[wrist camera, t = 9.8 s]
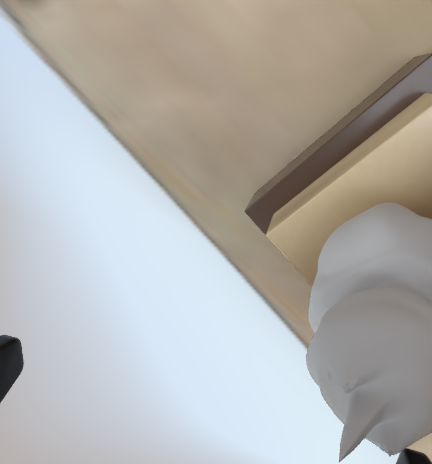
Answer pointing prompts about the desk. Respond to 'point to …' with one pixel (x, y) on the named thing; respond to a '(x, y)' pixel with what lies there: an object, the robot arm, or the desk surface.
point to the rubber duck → (375, 328)
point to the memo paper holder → (354, 169)
